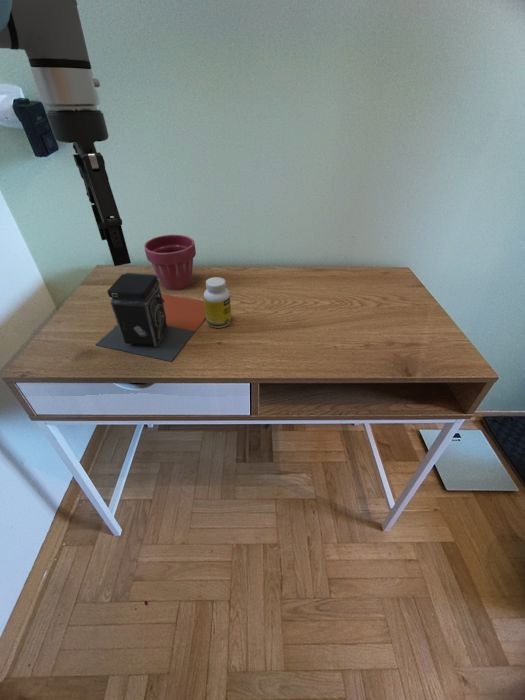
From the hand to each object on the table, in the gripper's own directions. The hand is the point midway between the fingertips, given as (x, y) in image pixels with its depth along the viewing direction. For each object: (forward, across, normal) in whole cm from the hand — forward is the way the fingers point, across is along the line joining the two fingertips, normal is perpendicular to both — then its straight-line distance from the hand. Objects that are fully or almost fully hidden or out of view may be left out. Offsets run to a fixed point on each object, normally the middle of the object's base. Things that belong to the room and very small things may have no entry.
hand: (115, 250), depth 60 cm
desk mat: (+24, +8, -7) cm, 26 cm away
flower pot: (+24, +28, -17) cm, 41 cm away
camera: (+24, +4, -2) cm, 24 cm away
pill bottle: (+24, +2, -20) cm, 31 cm away
